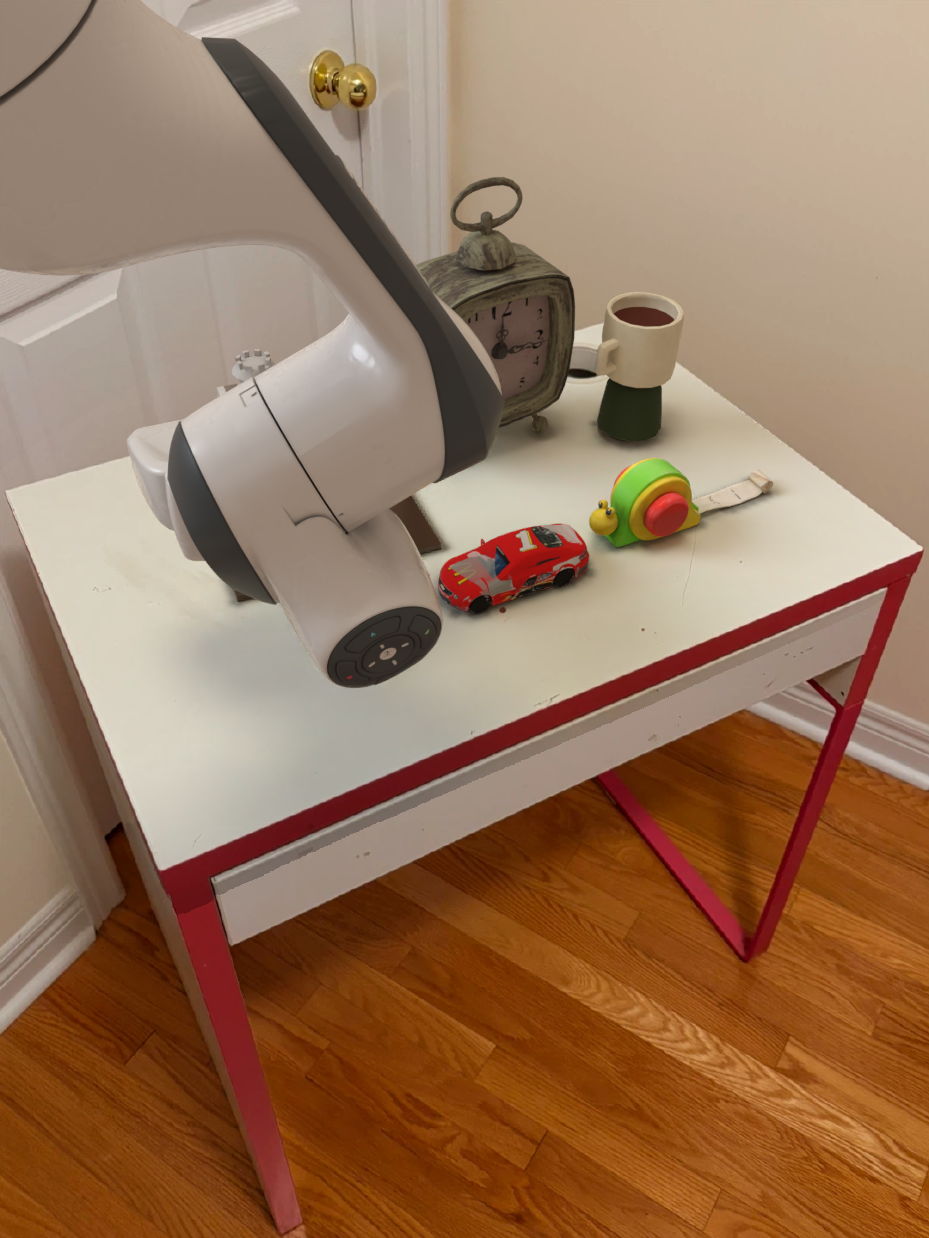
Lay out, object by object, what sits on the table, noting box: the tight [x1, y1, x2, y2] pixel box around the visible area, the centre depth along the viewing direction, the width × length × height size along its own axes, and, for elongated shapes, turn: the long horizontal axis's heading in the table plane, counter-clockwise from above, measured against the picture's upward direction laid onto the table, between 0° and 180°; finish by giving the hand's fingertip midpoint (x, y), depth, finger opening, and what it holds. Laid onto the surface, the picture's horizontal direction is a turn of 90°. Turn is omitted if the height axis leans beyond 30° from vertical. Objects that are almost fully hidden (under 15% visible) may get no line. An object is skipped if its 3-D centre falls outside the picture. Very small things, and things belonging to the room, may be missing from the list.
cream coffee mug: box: [594, 291, 685, 443], centre depth 100 cm, size 11×7×13 cm, turn 128°
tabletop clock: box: [416, 176, 576, 433], centre depth 95 cm, size 14×9×25 cm, turn 120°
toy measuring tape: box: [588, 457, 774, 548], centre depth 92 cm, size 6×19×7 cm, turn 117°
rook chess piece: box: [231, 348, 277, 384], centre depth 78 cm, size 4×4×8 cm
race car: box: [437, 523, 590, 614], centre depth 87 cm, size 13×5×4 cm, turn 114°
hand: (254, 388), depth 78 cm, fingers closed on rook chess piece, 3 cm apart
